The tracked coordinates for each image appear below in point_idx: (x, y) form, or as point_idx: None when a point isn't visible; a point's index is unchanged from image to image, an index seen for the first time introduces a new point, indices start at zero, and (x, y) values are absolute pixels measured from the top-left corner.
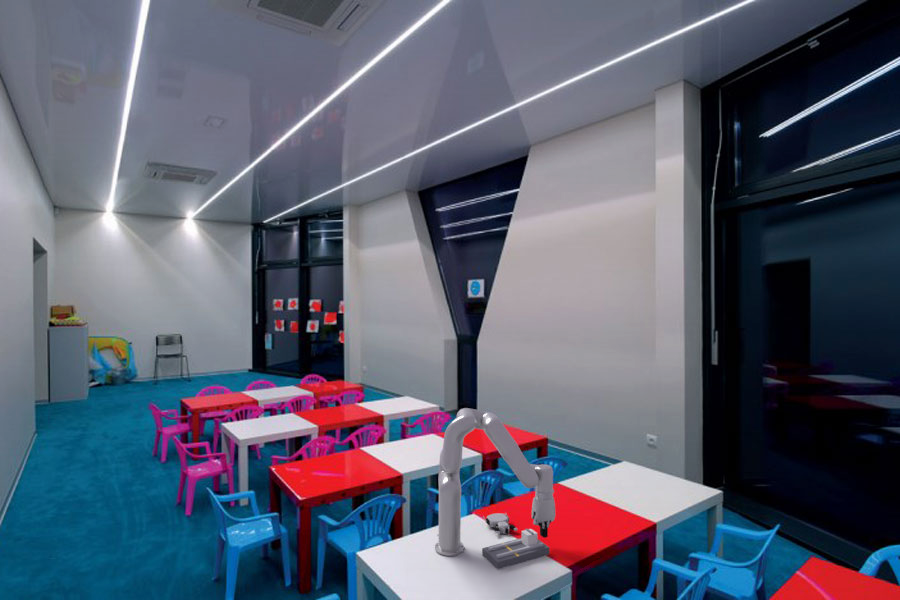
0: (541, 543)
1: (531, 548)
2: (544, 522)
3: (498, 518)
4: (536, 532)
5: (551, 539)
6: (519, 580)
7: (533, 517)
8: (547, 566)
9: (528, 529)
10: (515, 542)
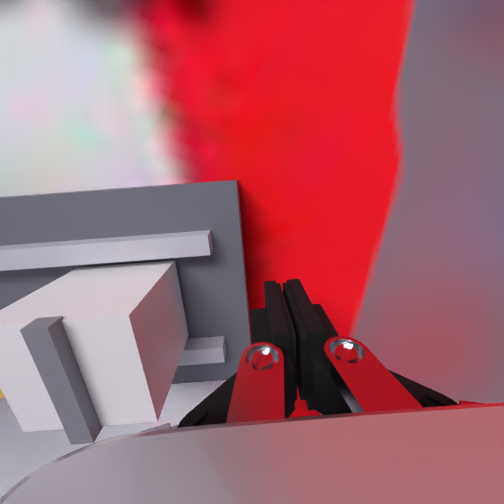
0: (211, 359)
1: None
2: (353, 389)
3: None
4: (152, 410)
5: (387, 202)
6: (7, 456)
7: (90, 464)
8: (180, 417)
9: (60, 359)
10: (9, 268)
